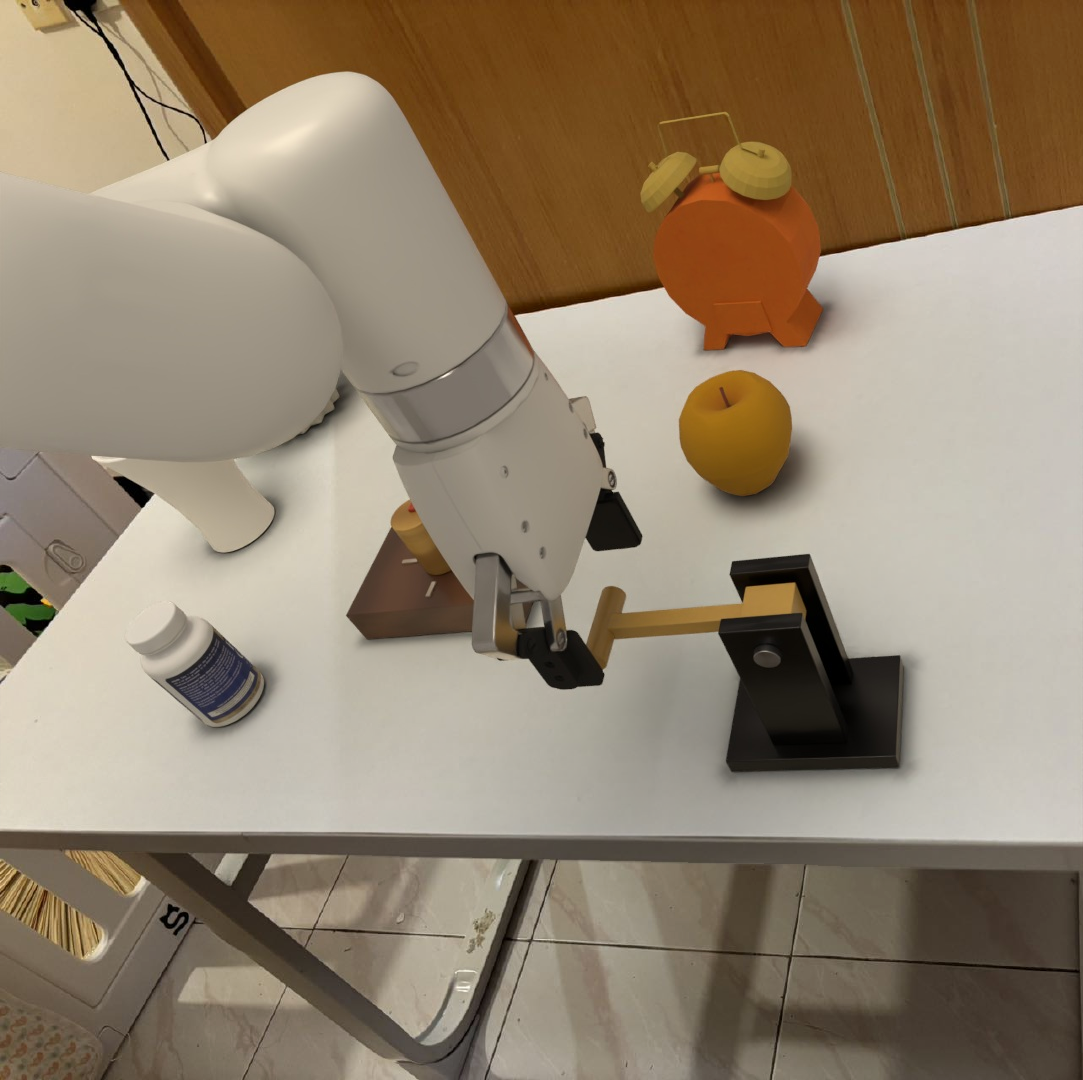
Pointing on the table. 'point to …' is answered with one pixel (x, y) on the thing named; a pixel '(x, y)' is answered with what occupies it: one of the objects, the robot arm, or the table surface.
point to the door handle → (682, 616)
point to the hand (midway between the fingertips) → (599, 610)
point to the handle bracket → (806, 683)
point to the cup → (203, 496)
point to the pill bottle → (195, 664)
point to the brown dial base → (410, 597)
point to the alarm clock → (736, 244)
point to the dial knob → (418, 539)
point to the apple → (736, 431)
